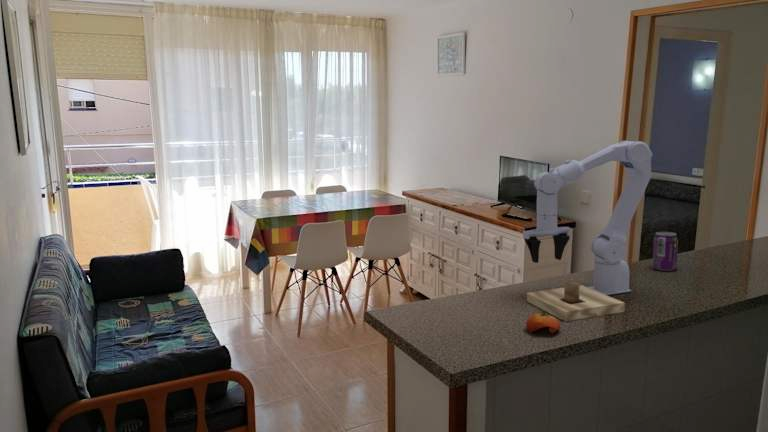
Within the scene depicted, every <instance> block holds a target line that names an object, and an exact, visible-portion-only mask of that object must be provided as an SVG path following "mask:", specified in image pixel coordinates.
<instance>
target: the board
mask: <svg viewBox="0 0 768 432" xmlns="http://www.w3.org/2000/svg"><path fill="white" fill-rule="evenodd" d="M587 287H588V286H585V285H582V284H580V285H579V303H576V304H568V303H566V302H564V287H558V288H551V289H545V290H538V291H530V292H526V302H527V303H529V304H531V305H533V306H535V307H537V308H538V309H541V310H542V311H543V310H546V313H547V314H548V313H549V314H550V315H551V316H553V317H555V318H558V319H560V320H562V321H564V322H570V321H576V320H582V319H588V318H589V319H590V318H593V317H601V316H608V315H614V314H619V313H625V309H626V308H625V305H626V304H625V301H621V300H619V299H617V298H615V297H611V295H605V294H602V293H600V292H597V291H595V290H592V289H590V288H587Z"/></svg>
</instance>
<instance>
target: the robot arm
mask: <svg viewBox="0 0 768 432" xmlns="http://www.w3.org/2000/svg"><path fill="white" fill-rule="evenodd" d="M653 156H654V155H653V152H652V150H651V149H650V147H649V145H648V144H647V143H646V142H644V141H641V140H638V141H631V140H621V141H620V142H618V143H613V144H610V145H609V146H607V147H605V148H602V149H600V150H599V151H598V152H596V153H595V152H594V154H592V155H590V156H588V157H586V158H583V159H582V160H580V161H578V160H576V159H572V160H571V159H567V160H564V163H563V164H561V165H558V166H556V167H555V168H554V167H551V168H548V170H549V171H547V172H546V171H544V172H540V173H539V174H538V175H537V176H536V177H535V180H534V182H533V186H534V188H535V189H536V228H534V229H530V230H525V231H522V238H523V240H524V242H525V244H526V245H527V248H528V249H529V253H530V256H531V261H532V262H533V263H535V264H538V263H539V257H540V246H541V242H542V241H541V240H540V239H539V238H542V237H551V236H552V239H553V244H554V259H555V260H558V261H562V257H563V254H564V251H565V248H566V246H567V245H568V242H569V240H570V235H571V227H569V226H560V227H559V226H558V192H559V190H560V189H561V188H564V187H565V186H567V185H570V184H571V183H574V182H576V181H578V180H580V179H582V178H583V177H584V176H585V172H588V171H591V170H592V169H596V168H597V167H599V166H602V165H605V164H607V163H610V162H619V163H620V164H621V165H622V166H623V167H624V168H625V170H626V172H627V175H628V178H627V181H626V183H625V184H624V187H623V189H622V192H621V193H620V196H619V198H618V200H617V202H616V205H615V207H614V209H613V212H612V213H611V216H610V218H609V221H608V222H607V224H606V226H605V227H603V228H602V229H601V230H600V232H599V233H598V235H597V236H596V237H595V238H594V239H593V240H592V242H591V243H590V249H591V252H592V253H593V254H594V258H593V285H590V286H586V287H587V288H590V289H592V290H595V291H597V292H600V293H602V294H605V295H607V296H611V295H616V294H622V293H623V294H624V293H629V292H631V291H632V289H630V267H629V264H628V263H627V261H625V260H624V259H623V258H624V257H625V252H626V251H625V250H626V249H625V248H626V244H627V237H626V232H627V230H628V228H629V226H630V224H631V222H632V219H633V217H634V215H635V212H636V210H637V208H638V206H639V204H640V202H641V200H642V198H643V195H644V193H645V191H646V189H647V186H648V185H649V182H650V180H651V177H652V162H651V161H652V157H653Z"/></svg>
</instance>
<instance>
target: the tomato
mask: <svg viewBox="0 0 768 432" xmlns="http://www.w3.org/2000/svg"><path fill="white" fill-rule="evenodd" d="M525 323H526V331H527V332H528V334H531V335H533V332H534V331H536V330H537V331H538V330H539V329H543V328H545V327H546V328H547V327H549V329H548V330H549V332H551V333H554V332H556V331H557V330H559V331H560V330H561V324H560V321H559V320H558V319H557V317H556V316H554V315H549V314H548V312H546V310H542V311H540V313H539V312H536V313H533V314H531V315H530V316H529V317H528V318H527V320H526V322H525ZM545 330H546V331H547V329H545Z"/></svg>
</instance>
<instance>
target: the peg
mask: <svg viewBox="0 0 768 432" xmlns="http://www.w3.org/2000/svg"><path fill="white" fill-rule="evenodd" d="M579 285H581V284H580V283H578V282H575V281H566V282H565V283H564V286H563V288H564V302H566V303H568V304H576V303H579Z"/></svg>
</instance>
